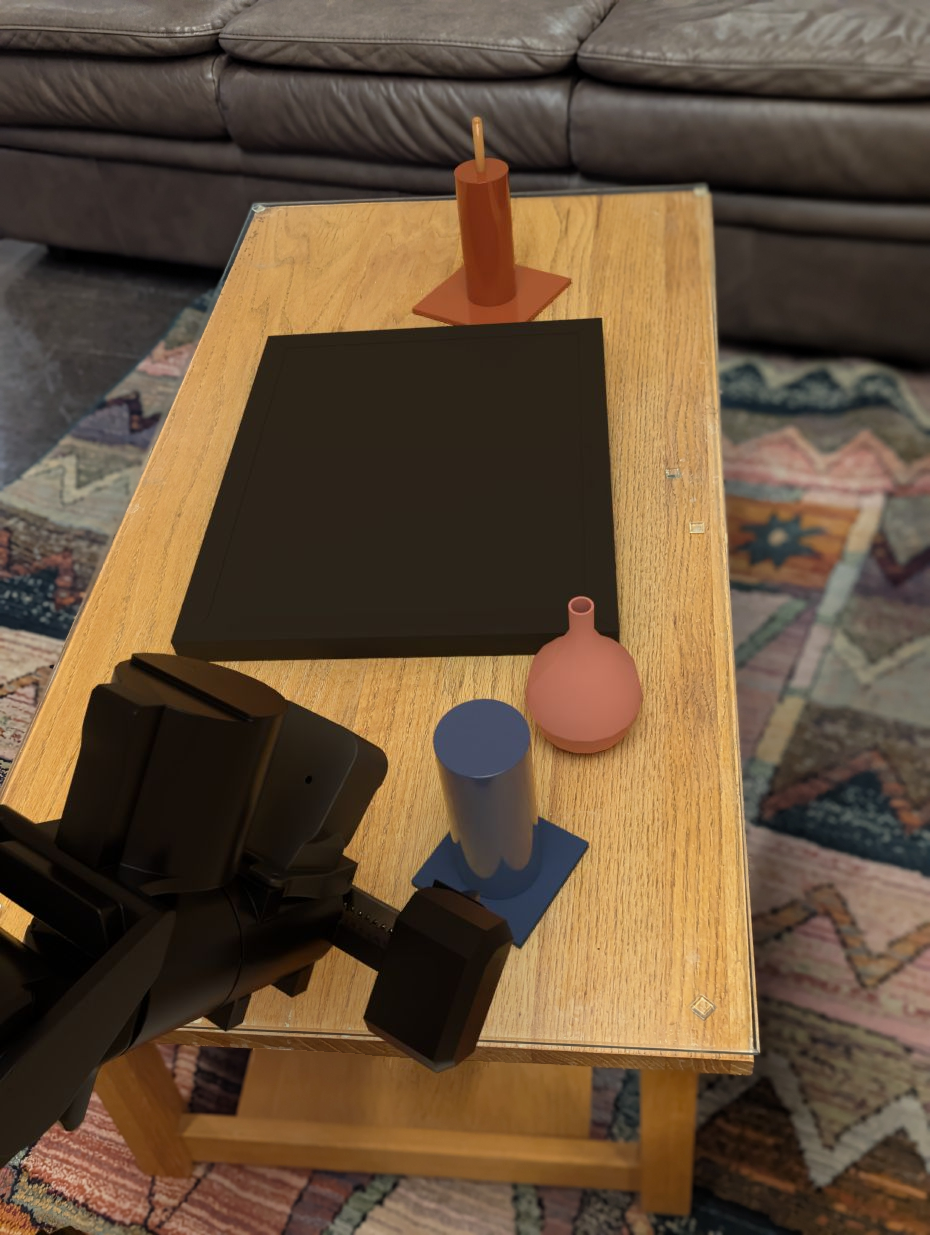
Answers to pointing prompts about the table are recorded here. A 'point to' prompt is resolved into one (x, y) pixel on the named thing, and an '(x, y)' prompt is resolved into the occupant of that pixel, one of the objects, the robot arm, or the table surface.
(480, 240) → the terracotta candle
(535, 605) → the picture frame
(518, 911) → the blue mat
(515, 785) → the blue cylinder
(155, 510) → the table surface
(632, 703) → the terracotta bud vase
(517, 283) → the terracotta tile
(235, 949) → the robot arm
